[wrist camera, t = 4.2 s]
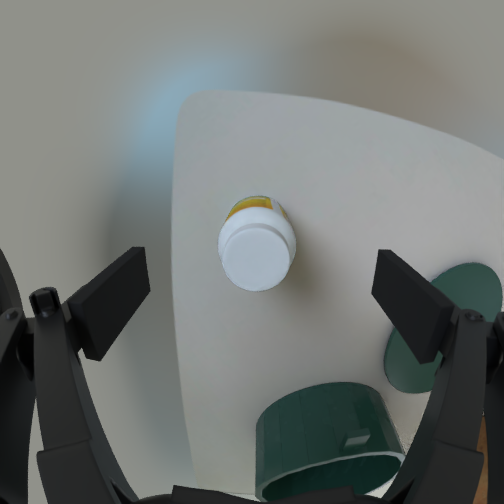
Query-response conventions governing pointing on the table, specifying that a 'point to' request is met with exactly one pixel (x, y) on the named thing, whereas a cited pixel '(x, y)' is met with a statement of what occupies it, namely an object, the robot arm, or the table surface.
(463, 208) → the table surface
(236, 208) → the supplement bottle
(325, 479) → the stewpot
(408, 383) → the stewpot lid
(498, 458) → the robot arm
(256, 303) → the table surface
